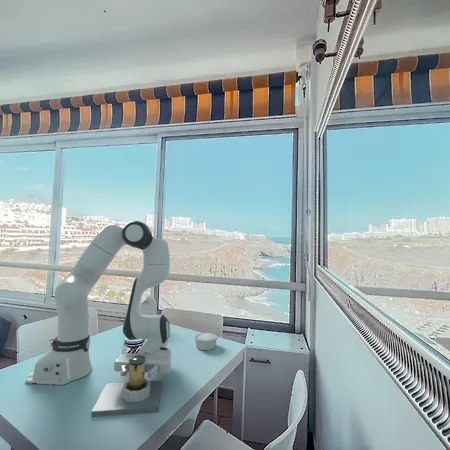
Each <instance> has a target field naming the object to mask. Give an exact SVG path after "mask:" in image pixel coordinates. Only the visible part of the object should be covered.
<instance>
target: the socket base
mask: <svg viewBox="0 0 450 450" xmlns="http://www.w3.org/2000/svg"><path fill="white" fill-rule="evenodd" d="M162 387H163V380H162V379H161V380H148V379H146V378H145V377H144V388H143V389H141V390H139V391H130V390H129V380H128V381H126V382H113V383H112V382H111V383H109V382H108V383H106V384H105V386H104V388H103V389H102V391H101V393H100V395H99V397H98V399H97V401H96V402H95V405H94V407H93V408H92V410H91V417H95V416H94V415H104V416H114V415H113V414H119V415H129V414H130V415H131V414H132V415H133V414H143V413H147V414H148V413H158V412H159V408H160V400H161V394H162V389H163V388H162ZM111 414H112V415H111Z"/></svg>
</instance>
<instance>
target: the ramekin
mask: <svg viewBox="0 0 450 450" xmlns="http://www.w3.org/2000/svg"><path fill="white" fill-rule="evenodd" d="M194 340H195V347H196V348H197V349H198V350H199V349H200V351H204V350H207V351H212V350H213V348H214V349H215V348H216V345H217V340H218V336H217V334H215V333H212V332H201V333H198V334H196V335H195V336H194ZM211 349H212V350H211Z"/></svg>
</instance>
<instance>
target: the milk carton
mask: <svg viewBox="0 0 450 450" xmlns="http://www.w3.org/2000/svg"><path fill="white" fill-rule="evenodd" d="M145 298H146V299H145V300H143V301H141V303H140V308H139V314H140V315H158V309H157V308H158V305H157V303H158V302H157V300H156V299H155V298H154V297H153V295H152V294H150V295H148V296H146V297H145Z"/></svg>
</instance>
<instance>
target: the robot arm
mask: <svg viewBox="0 0 450 450" xmlns="http://www.w3.org/2000/svg"><path fill="white" fill-rule="evenodd" d="M127 245H128V246H129V247H132V248H135V249H139V250H141V251H142V255H143V256H142V257H143V260H142V261H143V263H142V264H143V266H142V270H141V272H140V274H139V275H138V276H136V278H134V281H133V284H132V288H131V292H130V297H129V301H128V306H127V311H126V315H125V318H124V322H123V327H122V333H123V336H124V337H125V338H127V339H128V340H129V341H136V340H146V341H145V343H144V344H143V345H142V346H141V347H140V349H139V350H138V351H137V353H123V354H121V355H120V356H118V357H117V358H116V359H115V360H114V362H113V370H114V371H115V372H120V377H126V375H128V373H129V366H130V364H129V358H131V357H132V356H136V355H143V356H145V373H147V378H152V377H153V376H154V375H156V374H169V372H171V371H170V370H171V367H172V365H171V364H172V351H171V348H169V347H167V346H168V343H169V341H168V339H169V337H170V327H171V326H170V321H169V320H168V318H167V317H166V316H165V315H164V314H157V315H140V309H141V303H142V296H143V294H144V293H145V292H146V291H147V290H149V289H151V288H153V287H156V286H159V285H161V284H162V283H164V282H165V281H166V280H167V279H168V278H169V274H170V268H171V267H170V264H171V262H170V261H171V260H170V259H171V258H170V250H169V244H168V242H167V241H166V240H165V239H163V238H159V237H154V236H153V235H152V230H151V229H150V227H149V225H148V224H146V223H144V222H142V221H140V220H132V221H129V222H127V223H126V224H125V225H124V226H123V227H121V226H119V225H117V224H115V223H110V224H107V225H105V226H104V227H103V228H102V229H101V230H100V231H99V232H98V233H97V234H96V235H95V237H94V238H93V239H92V240H91V242H90V243H89V244H88V246H87V247H86V248H85V250H84V252H83V253H81V255H80V256H79V258H78V260H77V262H76V264H75V265H74V267H73V269H72V270H70V273H69V274H68V275H67V276H66V277H65V278H64V279H63V280H61V281H60V282H59V283H58V284H57V286H56V288H55V291H54V301H55V308H56V315H57V336H56V337H54V338H55V339H53V340H52V342H51V343H50V347H51V349H49V350H48V351H47V352H45V354H43V355H42V356H41V357H39V358H38V360H37V361H36V363H35V364H34V368H33V370H31V372H29V374H28V375H27V376H26V378H25V379H26V380H25V383H26V384H32V383H37V384H36V385H53V384H55V386H56V385H57V386H62V385H66V384H68V383H71V382H73V381H76V380H79V379H81V378H84V377H85V376H87V375H88V374H89V375H90V373H91V372H92V370H93V367H92V364H91V358H90V346H91V338H90V333H89V332H90V330H89V329H90V328H89V327H90V314H89V306H88V296H89V294H90V293H91V291H92V290H93V288H94V287H95V285H96V284H97V282H98V281H99V280H100V278H101V276H102V275H103V273H104V272H105V271H106V270H107V268H108V267H109V265H110V264H111V262H112V261H113V260H114V258H115V257H116V255H117V254H118V252H120V250H121V249H122V247H124V246H127Z"/></svg>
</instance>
